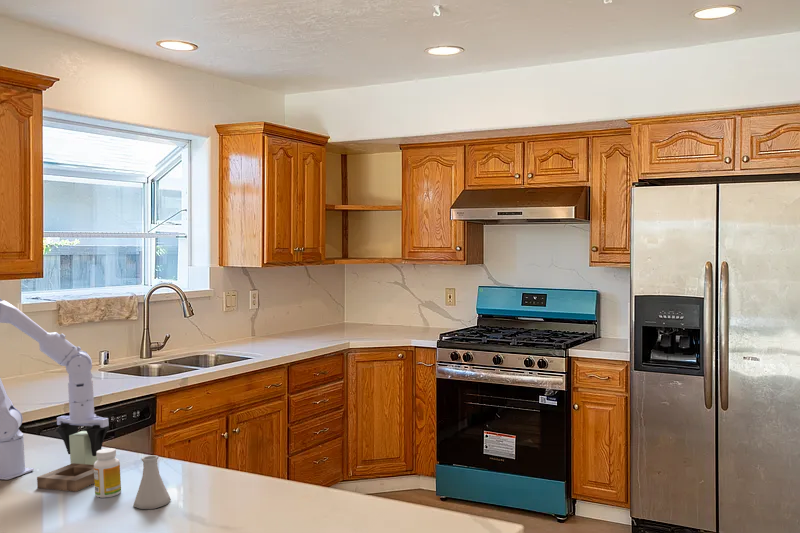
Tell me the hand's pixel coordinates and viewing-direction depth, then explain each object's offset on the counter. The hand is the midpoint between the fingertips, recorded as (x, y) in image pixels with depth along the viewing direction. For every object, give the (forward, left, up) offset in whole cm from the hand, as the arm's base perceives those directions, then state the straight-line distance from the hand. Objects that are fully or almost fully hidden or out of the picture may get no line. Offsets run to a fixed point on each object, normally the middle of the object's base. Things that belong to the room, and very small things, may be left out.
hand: (84, 454), depth 191 cm
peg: (0, 0, -3) cm, 3 cm away
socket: (+8, -12, -3) cm, 15 cm away
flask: (+36, -20, -3) cm, 41 cm away
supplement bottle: (+22, -17, -3) cm, 28 cm away
